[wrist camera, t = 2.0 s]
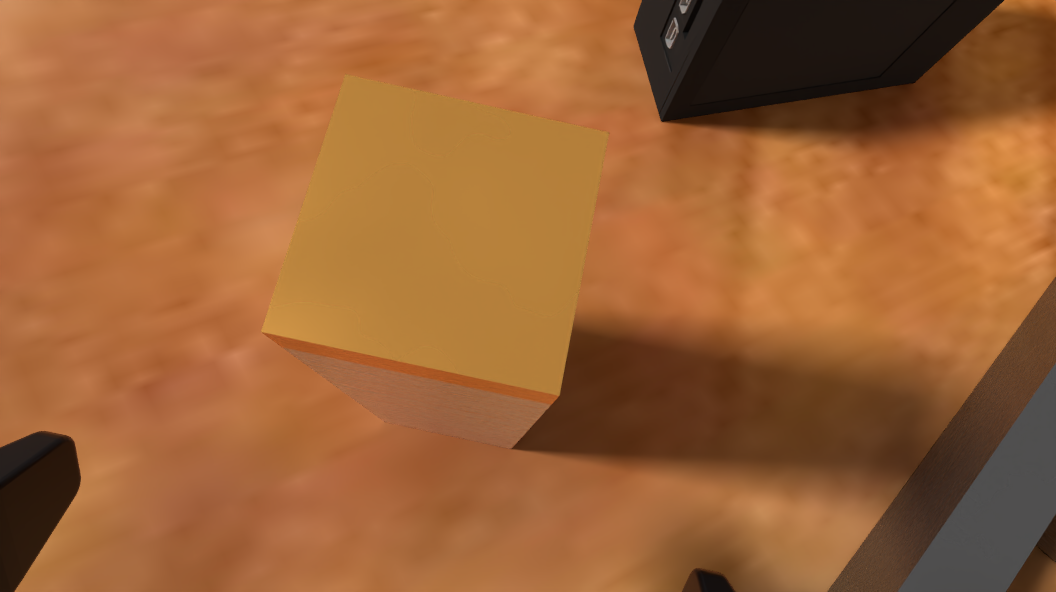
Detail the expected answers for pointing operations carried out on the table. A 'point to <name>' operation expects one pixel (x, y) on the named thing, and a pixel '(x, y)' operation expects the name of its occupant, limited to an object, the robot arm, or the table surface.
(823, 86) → the digital camera
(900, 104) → the table surface
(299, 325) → the grey square peg
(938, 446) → the gray slotted board
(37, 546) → the robot arm
